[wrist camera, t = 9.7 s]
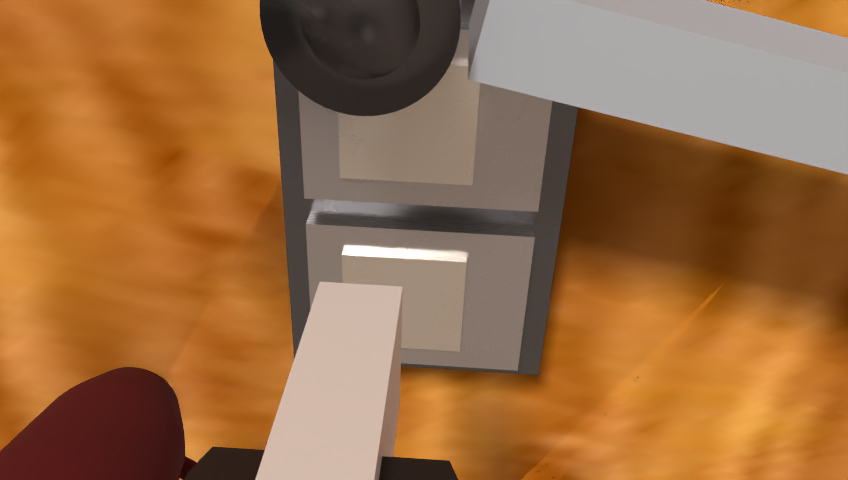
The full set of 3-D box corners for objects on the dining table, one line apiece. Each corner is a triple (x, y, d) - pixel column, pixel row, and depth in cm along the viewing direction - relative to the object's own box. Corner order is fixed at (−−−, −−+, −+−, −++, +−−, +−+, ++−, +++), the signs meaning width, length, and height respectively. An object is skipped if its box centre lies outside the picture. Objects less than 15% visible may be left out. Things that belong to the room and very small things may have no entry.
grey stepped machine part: (312, 302, 34) (237, 535, 23) (289, -139, 24) (145, -99, 14) (531, 316, 33) (560, 559, 22) (591, -127, 24) (687, -75, 13)
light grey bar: (462, 47, 21) (459, 108, 17) (497, -84, 19) (504, -54, 15) (1002, 183, 22) (1128, 273, 18) (1082, 72, 21) (1243, 141, 16)
